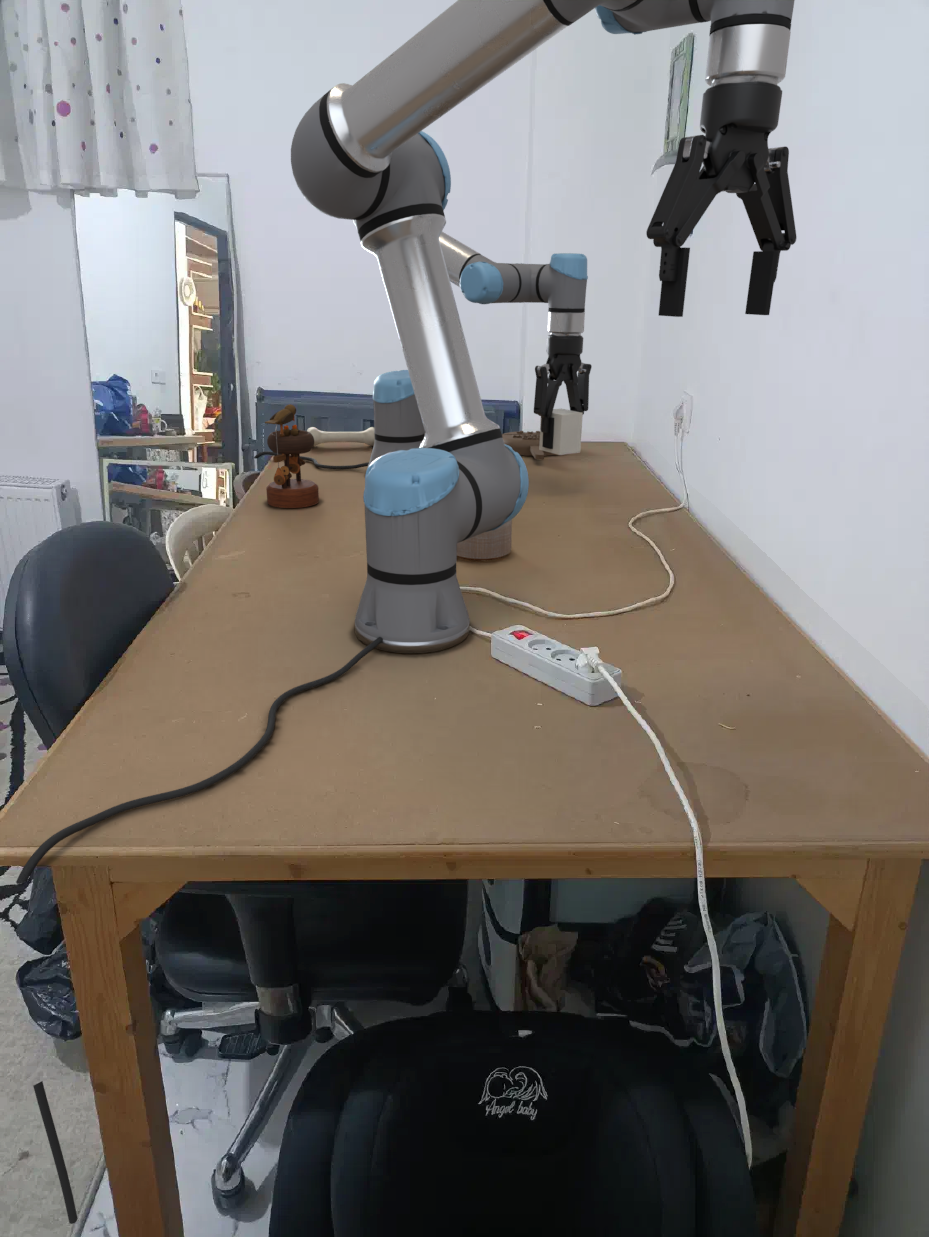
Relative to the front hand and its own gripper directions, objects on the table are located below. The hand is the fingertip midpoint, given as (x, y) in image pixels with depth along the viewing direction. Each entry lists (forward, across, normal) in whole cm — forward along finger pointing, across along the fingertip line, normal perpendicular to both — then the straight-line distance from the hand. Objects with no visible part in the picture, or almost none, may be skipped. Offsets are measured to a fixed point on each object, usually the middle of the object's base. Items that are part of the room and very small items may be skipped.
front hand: (715, 315), depth 91 cm
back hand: (+31, -43, -77) cm, 93 cm away
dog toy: (+41, -24, -145) cm, 153 cm away
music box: (+41, +11, -96) cm, 105 cm away
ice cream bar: (+41, -63, -111) cm, 134 cm away
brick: (+32, -43, -76) cm, 93 cm away
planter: (+41, -3, -48) cm, 63 cm away
